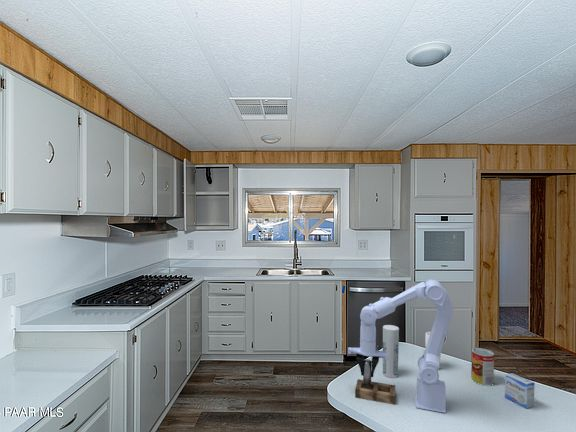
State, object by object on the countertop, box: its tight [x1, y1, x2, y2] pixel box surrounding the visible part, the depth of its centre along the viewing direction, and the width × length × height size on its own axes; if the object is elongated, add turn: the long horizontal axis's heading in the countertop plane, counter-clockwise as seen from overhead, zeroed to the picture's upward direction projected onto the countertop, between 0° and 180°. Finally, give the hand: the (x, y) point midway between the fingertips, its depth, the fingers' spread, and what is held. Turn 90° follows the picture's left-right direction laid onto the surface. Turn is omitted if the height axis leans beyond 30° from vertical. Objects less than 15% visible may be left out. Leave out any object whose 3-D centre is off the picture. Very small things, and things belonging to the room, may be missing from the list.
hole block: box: [354, 379, 396, 405], centre depth 124 cm, size 14×8×3 cm, turn 72°
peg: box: [362, 358, 372, 387], centre depth 124 cm, size 3×3×9 cm
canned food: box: [470, 347, 495, 386], centre depth 136 cm, size 8×8×12 cm
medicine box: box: [504, 372, 535, 409], centre depth 121 cm, size 8×4×9 cm, turn 23°
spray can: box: [382, 324, 400, 379], centre depth 140 cm, size 6×6×20 cm
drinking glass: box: [424, 331, 442, 371], centre depth 147 cm, size 7×7×15 cm
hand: (367, 375), depth 125 cm, fingers closed on peg, 3 cm apart
